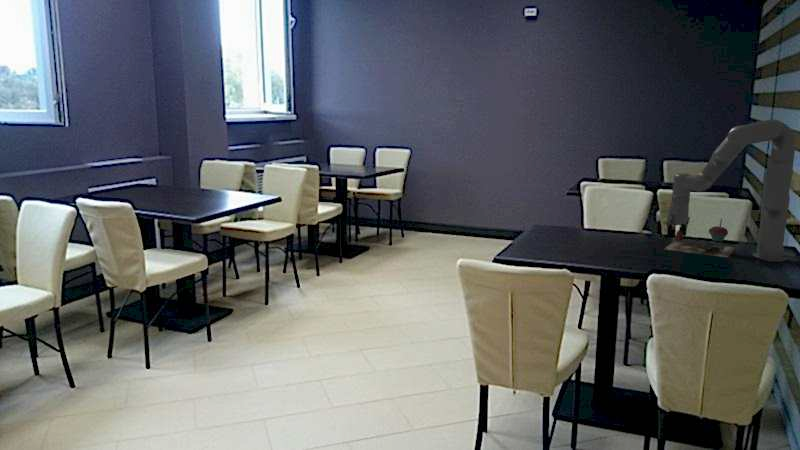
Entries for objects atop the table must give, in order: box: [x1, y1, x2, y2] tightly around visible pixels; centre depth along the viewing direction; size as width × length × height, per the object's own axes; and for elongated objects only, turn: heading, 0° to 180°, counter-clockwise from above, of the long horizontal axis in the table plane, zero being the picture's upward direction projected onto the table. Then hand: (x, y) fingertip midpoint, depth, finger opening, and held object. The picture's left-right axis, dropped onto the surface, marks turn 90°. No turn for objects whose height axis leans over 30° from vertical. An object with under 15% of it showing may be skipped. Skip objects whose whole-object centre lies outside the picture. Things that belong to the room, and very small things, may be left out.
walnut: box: [701, 242, 711, 252], centre depth 269 cm, size 4×4×4 cm
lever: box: [675, 229, 724, 251], centre depth 278 cm, size 22×5×6 cm, turn 33°
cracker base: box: [664, 238, 736, 258], centre depth 277 cm, size 26×24×3 cm
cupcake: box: [708, 218, 729, 243], centre depth 298 cm, size 9×8×12 cm
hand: (676, 236), depth 284 cm, fingers open, 9 cm apart
